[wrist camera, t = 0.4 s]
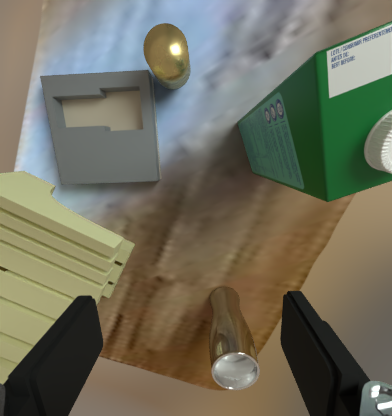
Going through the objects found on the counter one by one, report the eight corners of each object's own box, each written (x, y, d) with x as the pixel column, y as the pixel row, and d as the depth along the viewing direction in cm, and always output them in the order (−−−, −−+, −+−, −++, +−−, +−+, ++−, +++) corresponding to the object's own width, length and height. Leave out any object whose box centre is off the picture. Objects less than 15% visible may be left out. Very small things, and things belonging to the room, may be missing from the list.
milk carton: (252, 173, 37) (349, 211, 13) (237, 121, 35) (315, 50, 11) (304, 155, 36) (514, 158, 12) (291, 100, 34) (511, -31, 10)
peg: (157, 58, 33) (141, 24, 24) (190, 56, 33) (186, 22, 24) (160, 95, 34) (145, 75, 26) (192, 93, 34) (188, 73, 25)
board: (54, 83, 34) (40, 76, 31) (153, 77, 34) (148, 70, 31) (72, 182, 38) (61, 184, 35) (161, 178, 38) (157, 181, 35)
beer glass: (201, 303, 44) (200, 378, 29) (218, 278, 42) (227, 343, 28) (229, 318, 45) (242, 398, 30) (248, 294, 43) (271, 366, 28)
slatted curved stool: (71, 166, 38) (-40, 177, 20) (153, 206, 39) (114, 248, 22) (26, 295, 45) (-85, 385, 27) (97, 325, 46) (34, 429, 29)
